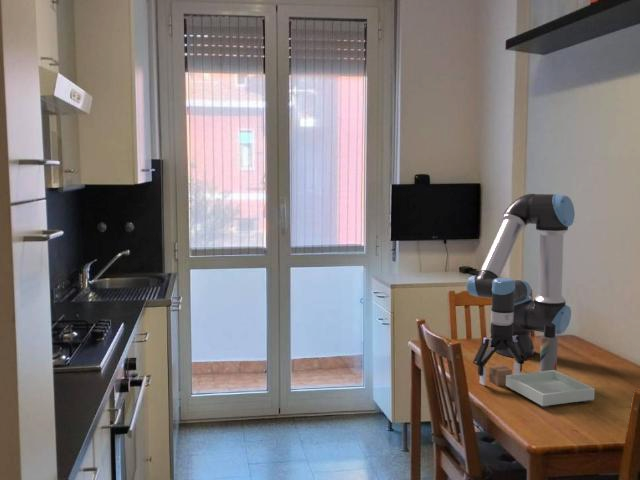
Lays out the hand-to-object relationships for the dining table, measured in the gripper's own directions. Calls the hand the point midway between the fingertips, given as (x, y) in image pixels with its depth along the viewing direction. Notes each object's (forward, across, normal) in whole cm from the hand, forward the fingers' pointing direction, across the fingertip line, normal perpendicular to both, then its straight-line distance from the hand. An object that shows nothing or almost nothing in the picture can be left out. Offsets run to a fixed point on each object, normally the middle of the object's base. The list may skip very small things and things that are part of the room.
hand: (499, 382), depth 228 cm
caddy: (0, +8, -16) cm, 18 cm away
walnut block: (0, 0, 0) cm, 0 cm away
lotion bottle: (0, +19, -1) cm, 19 cm away
